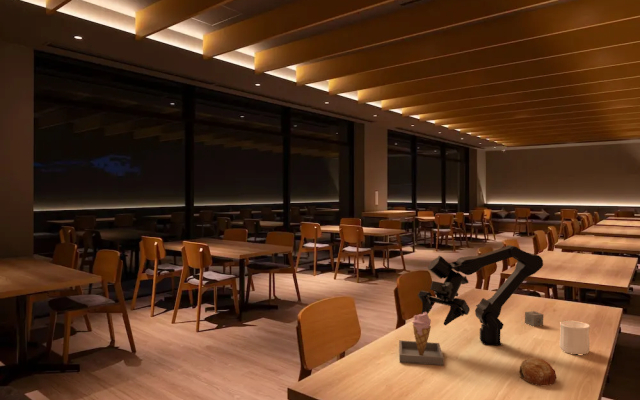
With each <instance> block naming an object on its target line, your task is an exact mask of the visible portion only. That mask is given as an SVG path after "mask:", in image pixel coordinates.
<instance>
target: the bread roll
mask: <svg viewBox="0 0 640 400" xmlns="http://www.w3.org/2000/svg"><path fill="white" fill-rule="evenodd" d="M518 374H519V376H518V377H519V378H521V379H522V380H524V381H525V380H526V381H525V382H527V381H528V382H527V383H529V384H531V383H533V384H532V385H535V384H537V385H536V386H541V385H546V386H551V385H554V383H556V381H557V374H556V369H554V368H553V366H552V365H551V364H550V363H549V362H547V361H546V360H544V359H542V358H536V357H529V358H525V359H524V360H523V361H522V362H521V364H520V366H519V373H518ZM550 384H551V385H550Z"/></svg>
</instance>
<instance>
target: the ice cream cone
mask: <svg viewBox="0 0 640 400" xmlns="http://www.w3.org/2000/svg"><path fill="white" fill-rule="evenodd" d="M413 318H414V320H413V321H412V322H411V323H412V327H413V328H412V329H413V334H414V340H415V341H416V344H417V348H418V352H419V355H423V354H424V351H425V347H426V344H427V342H429V341H428V340H429V337H430V332H431V328H432V327H431V326H432V325H431V323H432V320H431V318H430V317H429V313H427V312H423V314H422V313H419V314H415V315H413Z"/></svg>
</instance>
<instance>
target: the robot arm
mask: <svg viewBox="0 0 640 400" xmlns="http://www.w3.org/2000/svg"><path fill="white" fill-rule="evenodd" d="M510 258H513V259H514V260H516V264H515V268H514V271H513V272H512V273H511V274H510V275H509V276H508V277H507V279H506V280H505V281H504V282H503V283H502V285H501V286H500V287H499V288H498V289H497V290H496V291H495V292H494V294H493V295H492V296H491V297H489V298H488V299H486V298H482V299H481V300H480V302H479V303H478V304H476V305H475V307H476V308H475V310H474V312H475V317H476V318H477V319H478V320H479V322H480V327H481V328H479V341H480V342H481V343H482V345H487V346H488V345H489V346H502V343H501V331H502V329H503V327H504V326H505V325H504V323H503V322H502V321H501V320H500V319H499V317H500V315H501V313H502V312H501V311H502V309H503V306H504V305H505V304H506V303H507V301H508V300H509V299H510V298H511V297H512V295H513V294H514V293H515V292H516V290H518V288H520V286H521V285H522V283H523V282H524V281H525V280H526V279H527V278H528V277H529V278H530V277H531V276H533V275H535V274H536V273H538V272H539V270H541V269H542V268H543V266H544V260H543V258H542V256H540V255H539V254H535V253H532V252H527V251H526V250H525V251H524V250H522V249H520V248H519V247H517V246H514V245H510V244H508V245H505V246H503V247H500V248H498V249H494V250H492V251H489V252H486V253H482V254H479V255H474V256H473V255H471V256H461V257H458V258H457V259H456V260H454V261H452V262H448V261H447V260H446V259H445V258H444V257H443V256H441V255H438V256H437V257H436V258H434V259H433V260H432V261H431V262H430V263H429V265H428V266H427V269H428V271H430V272H431V273H432V274H433V275H434V276H436V277H437V278H438V279H445V280H444V282H440V281H434V280H433V281H431V284H430V289H429V290H431V291H433V294H434V295H435V296H433V295H432V293H431V292H430V291H426V290H420V291H419V292H418V294H417V297H418V299H419V300H420V301H421V302H422V309H421V314H423V312H427V313H428V314H429V313H430V311H431V310H432V308H433V306H434V304H440V305H442V306H443V305H444V306H448V307H450V309H449V311H448V313H447V315H446V317H445V319H444V321H443V326H447V325H448V324H450V323H452V322H453V321H455V320H456V319H458V318H460V317H463V316H464V315H465V316H467V315H468V314H470V313H469V312H470V306H469V304H468V303H467V301H466V300H465V299H463V298H460V297H459V298H457V297H458V296H459V293H458V292H459V290H460V288H461V286H462V285H465V284H466V285H467V284H469V283H470V282H469V280H468V277H467V276H471V275H473V274H474V273H477V272H478V271H480V270H481V269H482V268H484V267H486V266H489V265H493V264H495V263H498V262H499V263H500V262H501V261H504V260H507V259H510ZM463 274H464V275H465V276H463Z"/></svg>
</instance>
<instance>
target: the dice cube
mask: <svg viewBox="0 0 640 400" xmlns="http://www.w3.org/2000/svg"><path fill="white" fill-rule="evenodd" d="M525 323H526V325H528V324H529V325H528V326H530V325H531V326H530V327H533V326H537V327H541V326H540V325H543V326H544V314H543V313H540V312H537V311H535V310H531V311H525V312H524V324H525Z"/></svg>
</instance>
